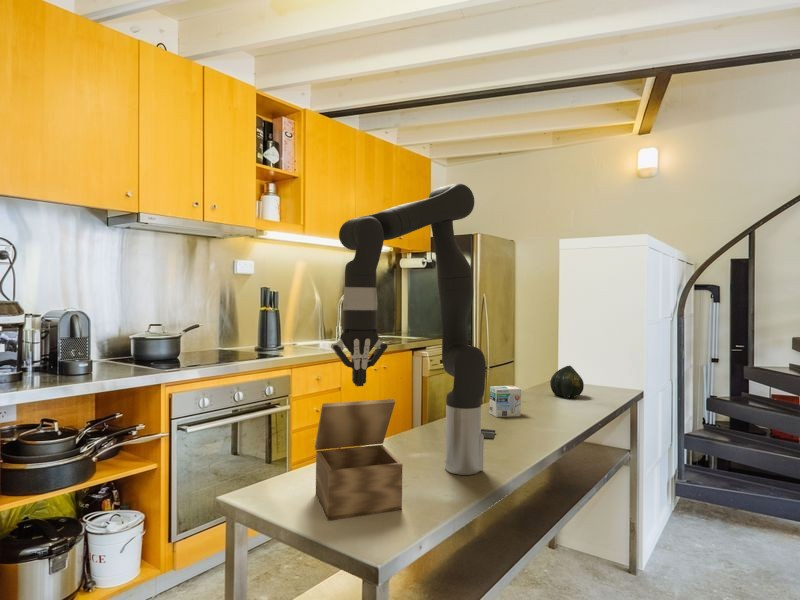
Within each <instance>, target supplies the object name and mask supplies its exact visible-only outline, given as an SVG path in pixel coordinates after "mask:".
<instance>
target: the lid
mask: <svg viewBox="0 0 800 600" xmlns="http://www.w3.org/2000/svg"><path fill="white" fill-rule="evenodd" d="M395 404H396V401H395V399H394V398H391V399H389V398H388V399H377V400H376V399H375V400H374V399H372V400H359V401H358V400H356V401H344V402H343V401H342V402H328V403H322V405H321V411H320V416H319V421H318V427H317V433H316V439H315V444H314V450H315V451H321V450H332V449H342V448H353V447H363V446H373V445H383V444H384V442H385V438H386V435H387V431H388V428H389V425H390V421H391V418H392V414H393V410H394V409H395V408H394V407H395Z"/></svg>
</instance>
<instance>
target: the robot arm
mask: <svg viewBox="0 0 800 600" xmlns="http://www.w3.org/2000/svg"><path fill="white" fill-rule="evenodd" d="M474 207H475V196H474V193H473V191H472V189H471V187H468V185H466V184H463V183H452V184H448V185H445V186H441V187H437V188H435V189H433V190H432V191H431V192H430V193H429V196H428V198H424V199H421V200H416V201H412V202H407V203H402V204H398V205H395V206H393V207H389V208H387V209H384V210H381V211H379V212H378V211H377V213H373V214H368V215H364V216H363V215H362V216H359V217H355V218H351V219H348V220H346V221H345V222H344V223H343V224H342V225H341V226H340V229H339V232H338V239H339V241H340V244H341V245H342V246H343V247H344V248H346V249H348V250H351V251H355V254H354V256H353V258H352V260H351V261H349V262H347V263H346V265H345V269H344V290H343V297H342V298H343V299H342V300H343V302H342V305H343V306H342V333H341V335H340V339H339V340H338V341H336V342H335V343H332V344H331V346H330V348H331V350H333V352H334V353H335V354H336V356H337V357H338V358H339V360H340V361H341V362H342V364H343V365H344V366H345V367H347V368H350V369H352V373H351V377H352V383H353V384H354V386H356V387H364V386H365V385H364V384H366V383H367V370H368V368H370V367H374V366H375V365H376V364H377V362H378V361H379V360H380V358H381V357H382V355H383V354H384V353H385V352H386V351H387V349H388V347H389V346H388V344H387V343H384V342H383V341H381V339H379V338H380V337H379V334H378V332H377V330H378V326H377V325H378V293H377V268H378V265H379V262H380V259H381V254H382V250H383V246H384V241H390V240H393V239H397V238H400V237H403V236H405V235H408V234H410V233H412V232H416V231H418V230H420V229H423V228H426V227H428V226H430V227H431V232H432V239H433V244H434V252H435V263H436V273H437V275H436V276H437V286H438V287H437V288H438V296H439V297H438V298H439V306H440V317H441V318H440V319H441V330H442V331H441V332H442V333H441V334H442V335H441V337H442V338H441V362H442V365H443V370H444V371H445V372H446V373H447V374H448V375H449V376H452V377H453V386H452V390H451V391H449V392H448V393H447V394H446V399H445V400H446V401H445V403H446V404H445V405H446V406H445V453H444V455H445V456H444V457H445V460H444V463H445V465H444V468H445V470H446V471H447V472H448V473H451V474H454V475H461V476H472V475H476V474H479V472H483V471H484V444H485V443H484V442H485V441H484V440H485V439H484V435H483V434H481V429H482V428H481V427H482V426H481V425H482V400H483V398H484V395H485V387H486V375H487V374H486V371H487V364H486V363H487V362H486V357H485V354H484V352H483V351H482V350H481V349H480V348H478V347H477V346H474V345H470V344H469V338H468V329H467V328H468V326H467V325H468V318H469V314H470V311H471V307H472V304H473V301H474V280H473V271H472V268H471V265H470V263H469V261H468V259H467V258H466V256H465V255H464V253H463V252H462V249H460V247H459V245H458V242H457V240H456V235H455V231H454V223H453V222H454V221H459V220H463V219H466V218H467V217H469V216H470V215H471V213H472V212H473V210H474ZM344 347H345V348H346V350H347V351H348V352H349V354H350V358H348V356H347V355H346V354H345V353H344V350H345V348H344ZM373 348H374V350H373V352H372V354H371V355H369V354H370V353H371V351H372V349H373Z"/></svg>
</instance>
